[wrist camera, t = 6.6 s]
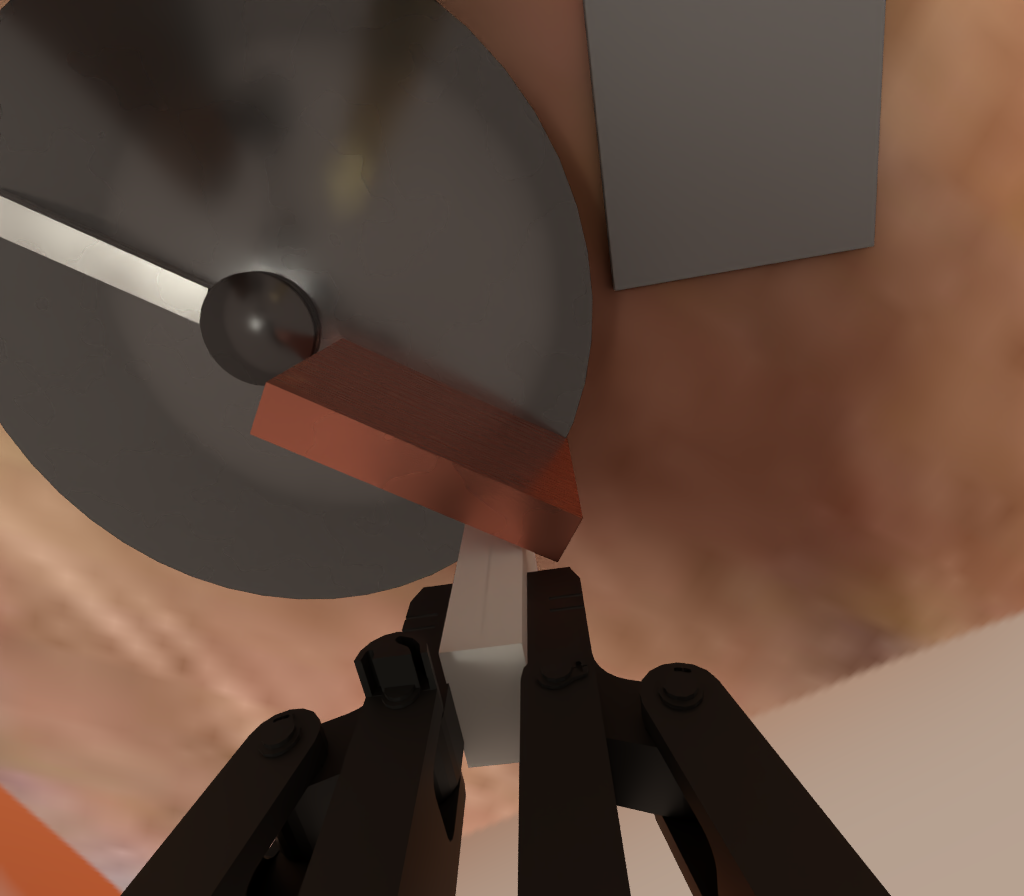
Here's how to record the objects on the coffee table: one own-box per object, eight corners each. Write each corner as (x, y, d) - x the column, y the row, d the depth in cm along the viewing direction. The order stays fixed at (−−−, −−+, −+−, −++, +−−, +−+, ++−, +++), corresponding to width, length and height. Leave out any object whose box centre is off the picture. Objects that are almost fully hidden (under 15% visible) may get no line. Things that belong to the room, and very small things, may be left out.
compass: (-33, 446, 20) (-315, 554, 13) (44, -194, 14) (-404, -588, 7) (450, 634, 22) (418, 805, 15) (698, 158, 16) (817, 106, 9)
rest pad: (582, -3, 16) (583, -9, 16) (880, -68, 15) (889, -76, 15) (613, 289, 19) (615, 290, 18) (866, 245, 18) (874, 245, 18)
